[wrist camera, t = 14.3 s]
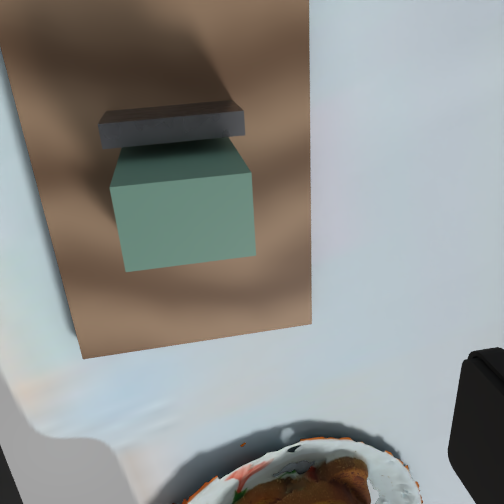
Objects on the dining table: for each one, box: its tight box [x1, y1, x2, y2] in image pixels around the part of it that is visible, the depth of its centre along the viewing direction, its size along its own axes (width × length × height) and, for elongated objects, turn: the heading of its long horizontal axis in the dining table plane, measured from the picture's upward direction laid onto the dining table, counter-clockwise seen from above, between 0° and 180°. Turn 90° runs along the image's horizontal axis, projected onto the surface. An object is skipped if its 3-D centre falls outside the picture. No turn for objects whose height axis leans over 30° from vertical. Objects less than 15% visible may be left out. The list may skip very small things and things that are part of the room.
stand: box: [0, 0, 312, 359], centre depth 27 cm, size 24×16×6 cm, turn 4°
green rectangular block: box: [110, 137, 256, 272], centre depth 25 cm, size 4×6×8 cm, turn 93°
